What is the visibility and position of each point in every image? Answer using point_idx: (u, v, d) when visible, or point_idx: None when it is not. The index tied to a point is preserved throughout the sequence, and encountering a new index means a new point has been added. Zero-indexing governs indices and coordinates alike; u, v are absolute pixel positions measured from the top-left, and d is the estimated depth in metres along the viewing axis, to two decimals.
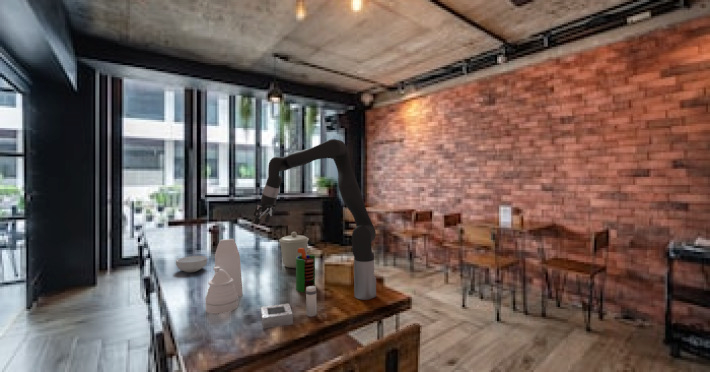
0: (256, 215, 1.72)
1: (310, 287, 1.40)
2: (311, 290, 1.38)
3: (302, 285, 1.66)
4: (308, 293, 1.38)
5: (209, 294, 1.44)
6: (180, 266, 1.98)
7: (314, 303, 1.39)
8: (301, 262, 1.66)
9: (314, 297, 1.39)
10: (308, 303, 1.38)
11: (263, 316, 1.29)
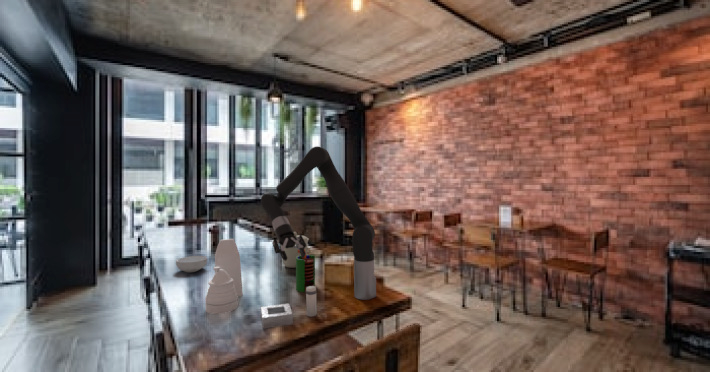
0: (276, 249, 1.48)
1: (310, 287, 1.40)
2: (311, 290, 1.38)
3: (302, 285, 1.66)
4: (308, 293, 1.38)
5: (209, 294, 1.44)
6: (180, 266, 1.98)
7: (314, 303, 1.39)
8: (301, 262, 1.66)
9: (314, 297, 1.39)
10: (308, 303, 1.38)
11: (263, 316, 1.29)
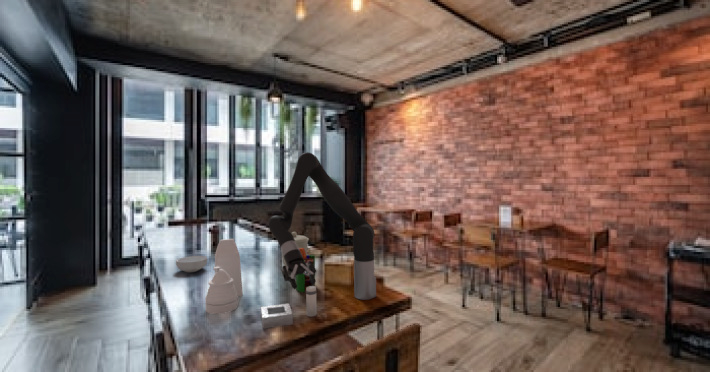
0: (285, 277, 1.42)
1: (310, 287, 1.40)
2: (311, 290, 1.38)
3: (302, 285, 1.66)
4: (308, 293, 1.38)
5: (209, 294, 1.44)
6: (180, 266, 1.98)
7: (314, 303, 1.39)
8: None
9: (314, 297, 1.39)
10: (308, 303, 1.38)
11: (263, 316, 1.29)
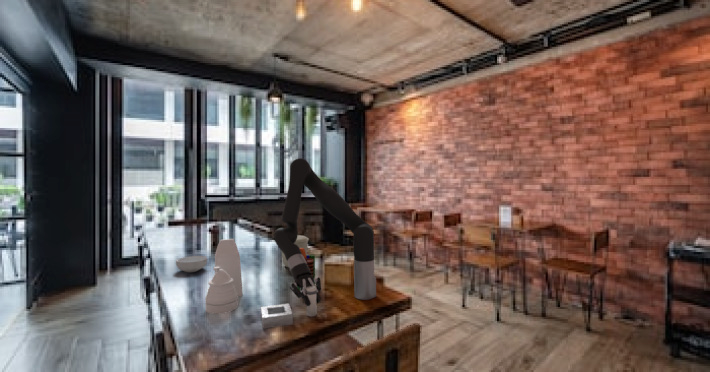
0: None
1: (310, 287, 1.40)
2: (311, 290, 1.38)
3: None
4: (308, 293, 1.38)
5: (209, 294, 1.44)
6: (180, 266, 1.98)
7: (314, 303, 1.39)
8: None
9: (314, 297, 1.39)
10: None
11: (263, 316, 1.29)
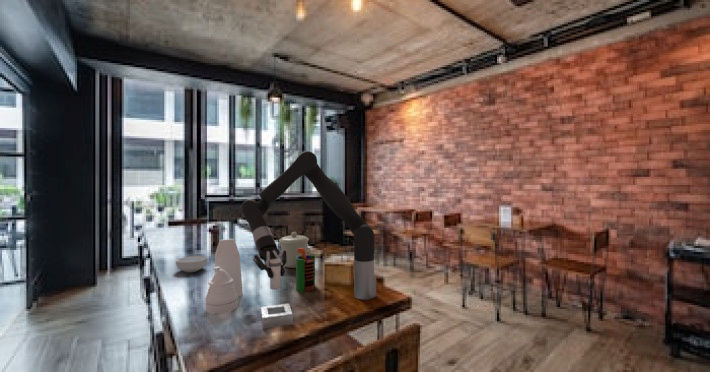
0: None
1: (274, 259, 1.34)
2: (274, 262, 1.32)
3: (302, 285, 1.66)
4: (271, 265, 1.32)
5: (209, 294, 1.44)
6: (180, 266, 1.98)
7: (278, 276, 1.33)
8: (301, 262, 1.66)
9: (278, 269, 1.33)
10: None
11: (263, 316, 1.29)
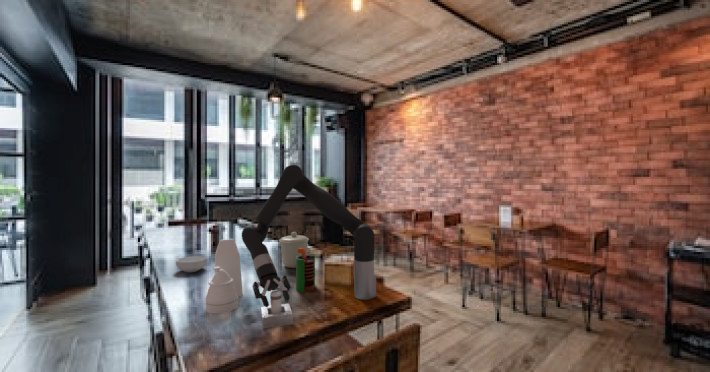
0: (256, 294, 1.32)
1: (275, 292, 1.35)
2: (275, 295, 1.33)
3: (302, 285, 1.66)
4: (272, 298, 1.33)
5: (209, 294, 1.44)
6: (180, 266, 1.98)
7: (279, 309, 1.33)
8: (301, 262, 1.66)
9: (278, 302, 1.33)
10: (272, 308, 1.33)
11: (263, 316, 1.29)
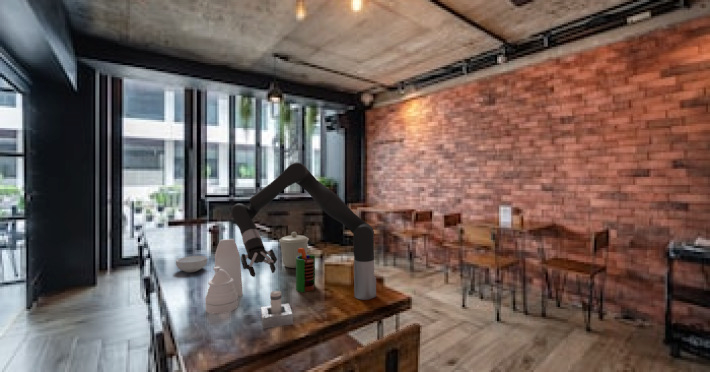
0: (244, 265, 1.42)
1: (275, 292, 1.35)
2: (275, 295, 1.33)
3: (302, 285, 1.66)
4: (272, 298, 1.33)
5: (209, 294, 1.44)
6: (180, 266, 1.98)
7: (279, 309, 1.33)
8: (301, 262, 1.66)
9: (278, 302, 1.33)
10: (272, 308, 1.33)
11: (263, 316, 1.29)
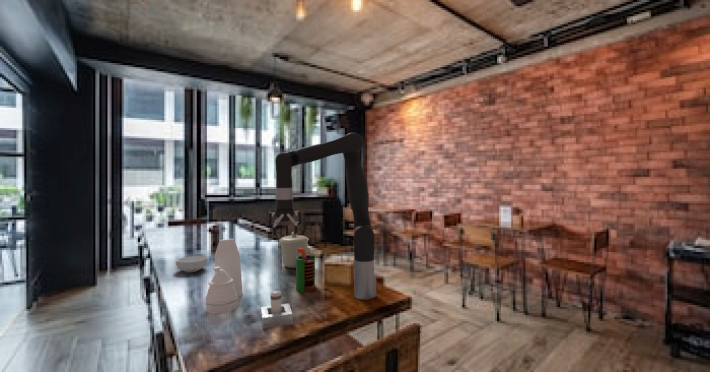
0: (268, 223, 1.50)
1: (275, 292, 1.35)
2: (275, 295, 1.33)
3: (302, 285, 1.66)
4: (272, 298, 1.33)
5: (209, 294, 1.44)
6: (180, 266, 1.98)
7: (278, 309, 1.33)
8: (301, 262, 1.66)
9: (278, 302, 1.33)
10: (272, 308, 1.33)
11: (263, 316, 1.29)
